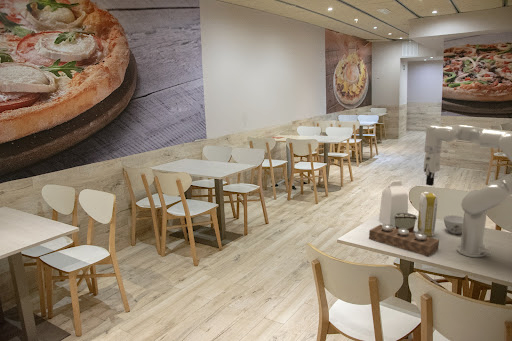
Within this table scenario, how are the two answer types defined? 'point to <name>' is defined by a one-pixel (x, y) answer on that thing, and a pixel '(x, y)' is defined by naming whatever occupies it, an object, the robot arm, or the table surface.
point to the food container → (405, 221)
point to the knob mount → (404, 241)
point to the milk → (393, 202)
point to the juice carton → (427, 213)
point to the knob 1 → (387, 228)
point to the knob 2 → (403, 232)
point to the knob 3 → (420, 236)
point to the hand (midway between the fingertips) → (429, 184)
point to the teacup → (454, 223)
